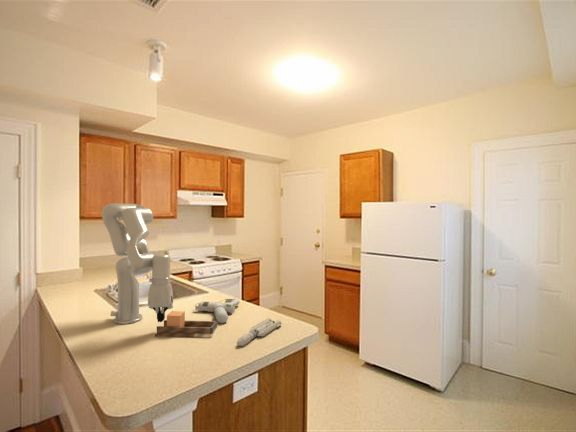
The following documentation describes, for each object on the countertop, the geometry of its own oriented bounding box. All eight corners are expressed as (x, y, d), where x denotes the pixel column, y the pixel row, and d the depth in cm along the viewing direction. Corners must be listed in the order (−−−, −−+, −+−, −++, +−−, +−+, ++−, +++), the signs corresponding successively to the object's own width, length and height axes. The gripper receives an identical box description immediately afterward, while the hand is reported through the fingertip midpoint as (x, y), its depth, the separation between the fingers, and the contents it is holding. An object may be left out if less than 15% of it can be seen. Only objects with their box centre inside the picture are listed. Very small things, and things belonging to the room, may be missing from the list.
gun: (244, 306, 180) (225, 325, 151) (198, 303, 185) (171, 321, 155) (244, 296, 180) (225, 314, 151) (198, 294, 185) (171, 310, 155)
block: (166, 330, 139) (166, 315, 138) (171, 325, 145) (172, 311, 144) (179, 331, 138) (180, 315, 138) (184, 326, 144) (184, 311, 144)
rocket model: (282, 319, 150) (246, 342, 124) (282, 327, 150) (246, 351, 124) (266, 316, 155) (228, 337, 128) (266, 323, 155) (228, 346, 128)
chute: (154, 336, 136) (154, 328, 136) (166, 326, 148) (166, 318, 148) (211, 337, 135) (211, 329, 135) (217, 327, 147) (217, 319, 147)
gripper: (140, 283, 138) (140, 323, 138) (174, 283, 137) (173, 324, 138) (148, 279, 145) (148, 317, 145) (180, 279, 145) (179, 318, 145)
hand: (160, 320), depth 142 cm, fingers closed
